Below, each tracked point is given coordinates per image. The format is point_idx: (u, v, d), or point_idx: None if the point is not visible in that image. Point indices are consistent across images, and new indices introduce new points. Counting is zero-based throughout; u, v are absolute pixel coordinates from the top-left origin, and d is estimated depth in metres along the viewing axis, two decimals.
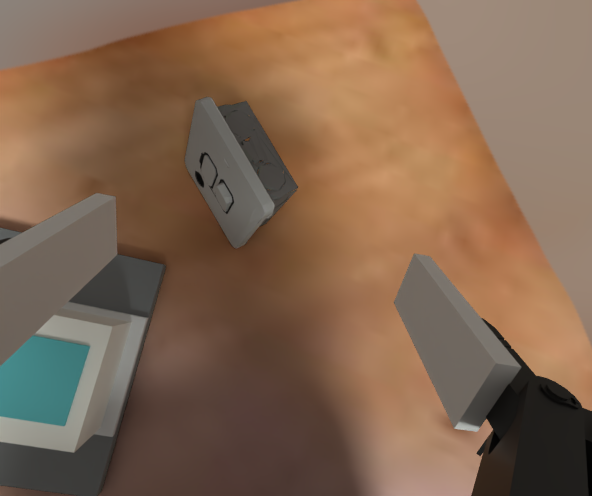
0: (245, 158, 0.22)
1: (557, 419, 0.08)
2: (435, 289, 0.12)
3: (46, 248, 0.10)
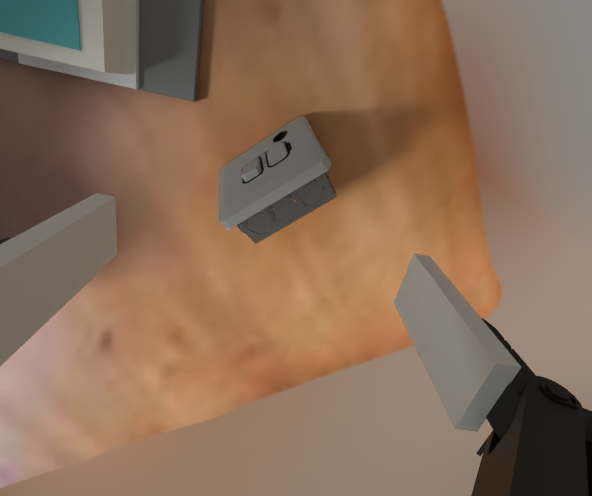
0: (268, 204, 0.24)
1: (556, 418, 0.08)
2: (435, 289, 0.12)
3: (46, 248, 0.10)
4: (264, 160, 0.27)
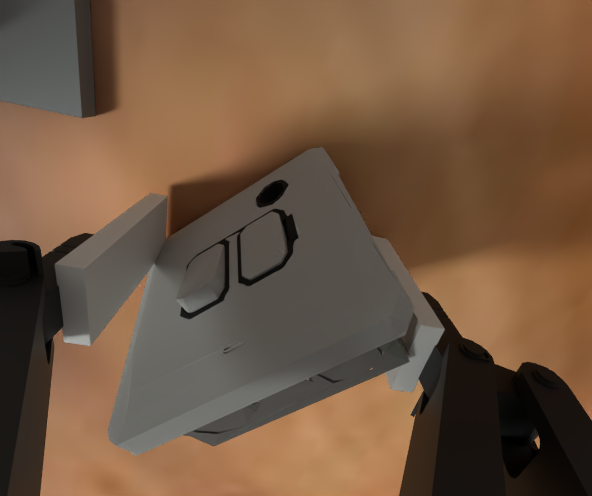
0: (233, 410, 0.09)
1: (473, 374, 0.08)
2: None
3: (123, 242, 0.11)
4: (234, 255, 0.12)
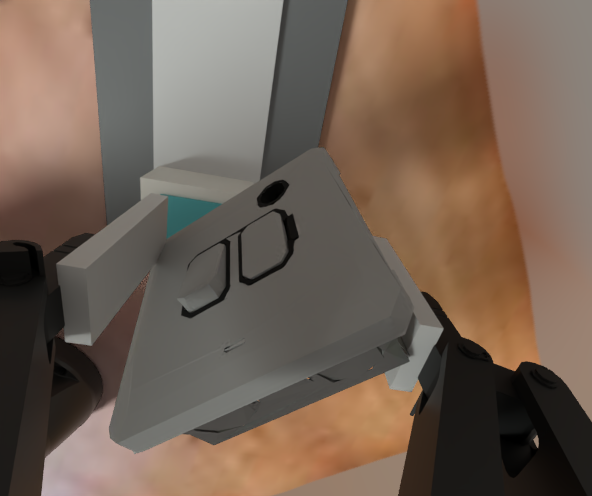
0: (233, 409, 0.09)
1: (472, 373, 0.08)
2: None
3: (124, 242, 0.11)
4: (234, 254, 0.12)
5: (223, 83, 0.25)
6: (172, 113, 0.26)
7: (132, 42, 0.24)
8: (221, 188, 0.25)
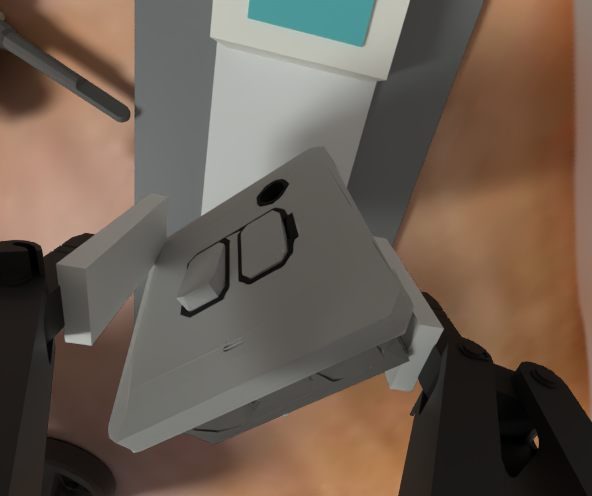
0: (232, 408, 0.09)
1: (472, 373, 0.08)
2: None
3: (124, 242, 0.11)
4: (234, 254, 0.12)
5: None
6: None
7: (180, 169, 0.21)
8: None
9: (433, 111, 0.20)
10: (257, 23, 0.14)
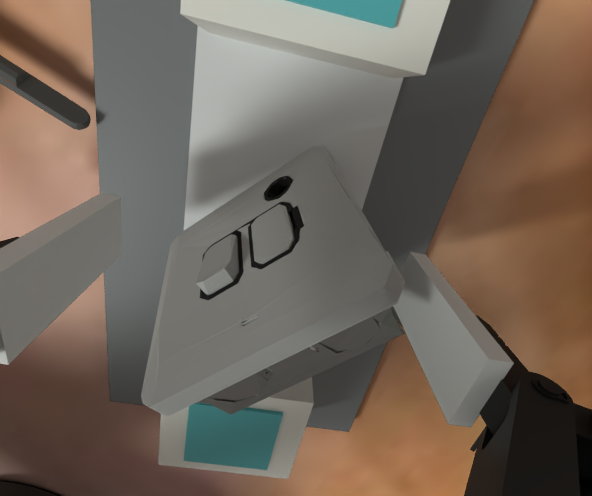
0: (250, 374, 0.10)
1: (548, 413, 0.08)
2: (430, 287, 0.12)
3: (54, 247, 0.10)
4: (246, 243, 0.13)
5: None
6: None
7: (156, 187, 0.17)
8: None
9: (473, 115, 0.16)
10: None
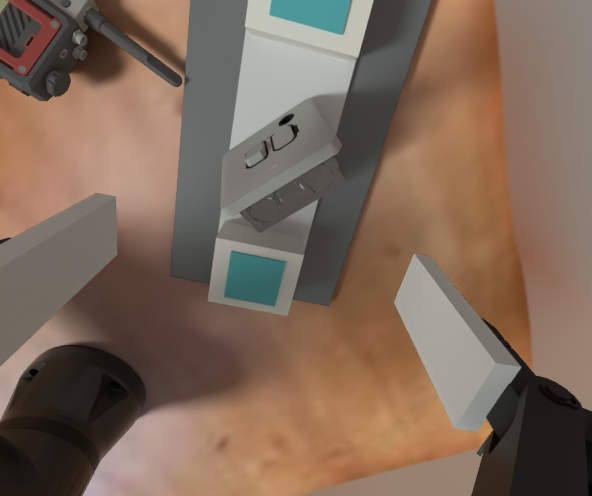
0: (273, 189, 0.22)
1: (557, 419, 0.08)
2: (435, 289, 0.12)
3: (46, 248, 0.10)
4: (269, 144, 0.25)
5: None
6: None
7: (214, 123, 0.29)
8: (281, 248, 0.30)
9: (396, 84, 0.28)
10: (275, 18, 0.22)
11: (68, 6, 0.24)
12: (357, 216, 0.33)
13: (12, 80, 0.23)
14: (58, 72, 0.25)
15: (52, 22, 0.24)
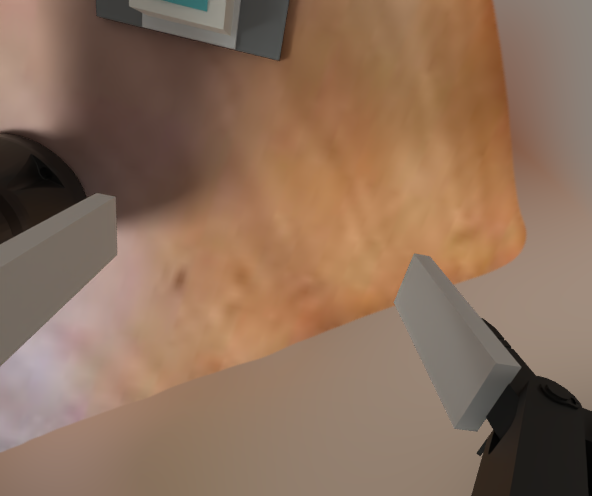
0: None
1: (557, 419, 0.08)
2: (435, 289, 0.12)
3: (46, 248, 0.10)
4: None
5: None
6: None
7: None
8: None
9: None
10: None
11: None
12: None
13: None
14: None
15: None
